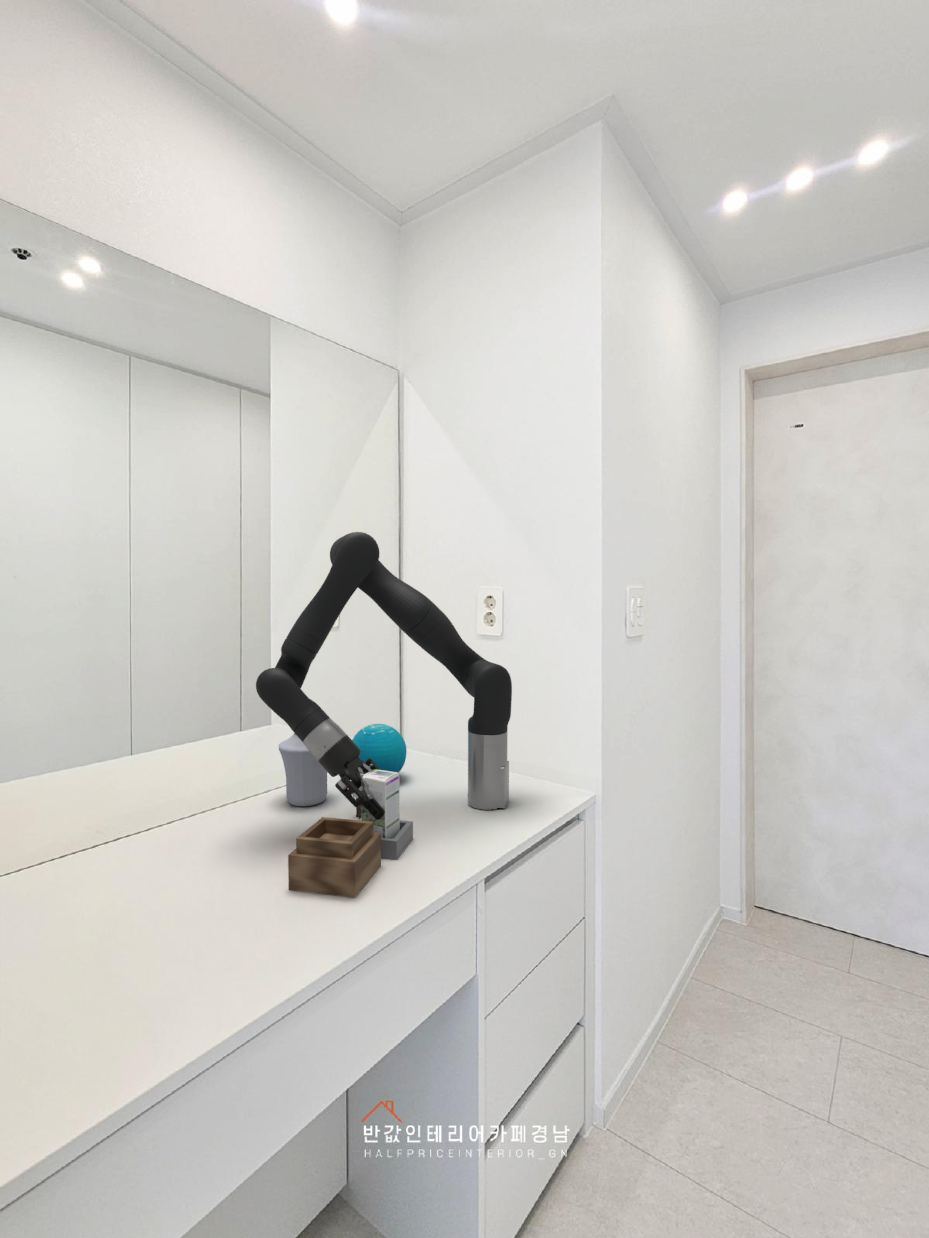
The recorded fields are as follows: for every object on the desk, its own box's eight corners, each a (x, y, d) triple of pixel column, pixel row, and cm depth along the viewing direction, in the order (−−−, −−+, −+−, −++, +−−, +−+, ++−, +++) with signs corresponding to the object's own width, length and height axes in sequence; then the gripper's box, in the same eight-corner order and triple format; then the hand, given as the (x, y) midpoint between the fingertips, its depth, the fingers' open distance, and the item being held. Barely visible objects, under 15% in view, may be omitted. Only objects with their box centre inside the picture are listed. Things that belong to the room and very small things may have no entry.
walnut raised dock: (381, 865, 115) (380, 819, 114) (355, 897, 103) (354, 847, 102) (320, 859, 117) (319, 814, 117) (288, 889, 106) (287, 840, 105)
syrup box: (401, 842, 125) (400, 771, 124) (385, 854, 119) (384, 779, 118) (376, 837, 127) (376, 767, 126) (360, 849, 122) (359, 775, 121)
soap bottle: (285, 814, 140) (283, 705, 138) (274, 797, 151) (272, 696, 150) (340, 805, 146) (339, 700, 144) (326, 789, 157) (325, 691, 155)
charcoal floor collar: (412, 838, 127) (412, 821, 127) (396, 859, 117) (396, 841, 117) (366, 833, 129) (366, 817, 129) (346, 854, 119) (346, 836, 119)
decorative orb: (417, 776, 167) (416, 720, 166) (387, 793, 153) (387, 733, 153) (369, 769, 173) (368, 716, 172) (337, 785, 160) (336, 727, 159)
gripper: (328, 743, 116) (388, 810, 114) (358, 726, 130) (412, 785, 128) (302, 769, 118) (361, 836, 116) (335, 749, 132) (388, 809, 130)
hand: (388, 809), depth 122 cm, fingers closed on syrup box, 6 cm apart
